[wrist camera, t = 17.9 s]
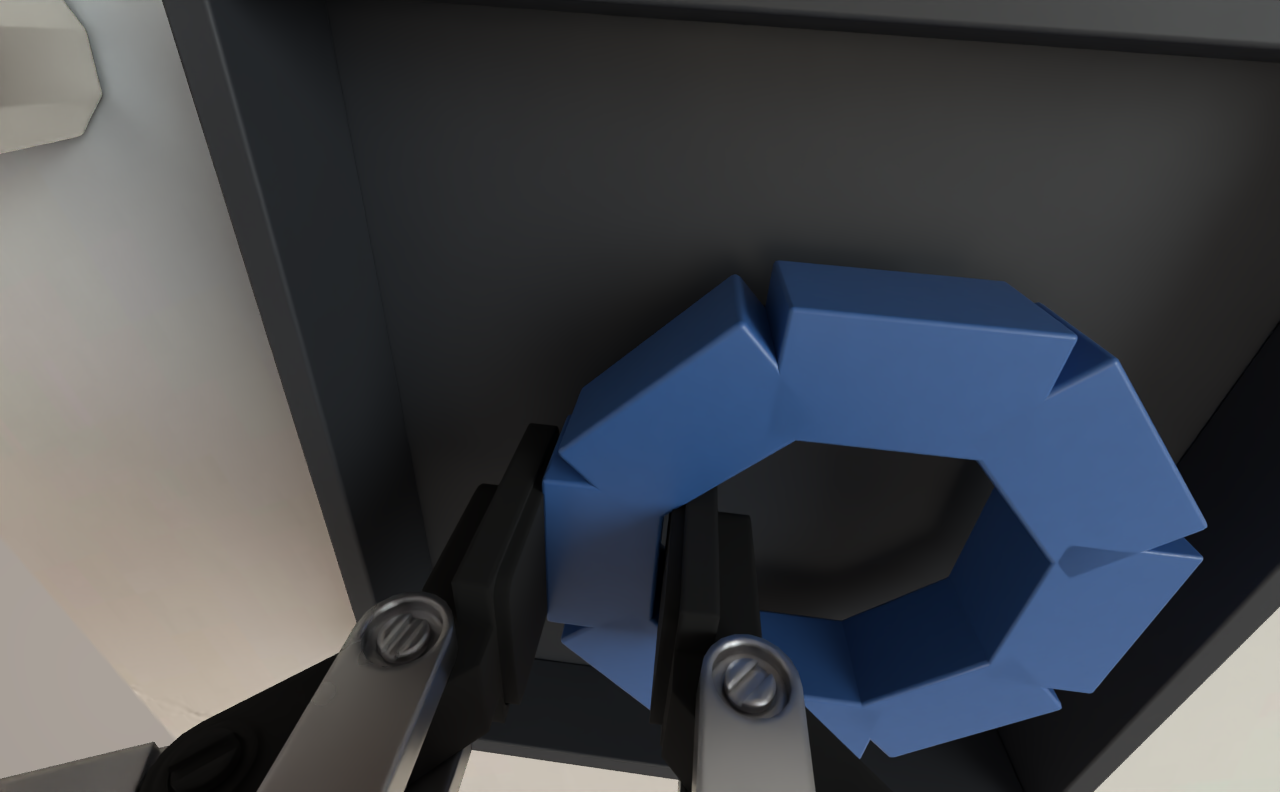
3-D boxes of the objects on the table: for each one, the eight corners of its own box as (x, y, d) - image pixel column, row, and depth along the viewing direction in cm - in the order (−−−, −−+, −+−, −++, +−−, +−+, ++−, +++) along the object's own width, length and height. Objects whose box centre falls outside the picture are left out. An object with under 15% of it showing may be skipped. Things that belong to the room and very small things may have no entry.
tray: (438, 637, 18) (391, 739, 15) (302, -52, 9) (128, -99, 6) (997, 713, 17) (1051, 835, 14) (1486, 28, 8) (1882, 14, 5)
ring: (568, 638, 14) (549, 718, 12) (566, 240, 9) (532, 282, 7) (979, 692, 13) (1018, 784, 12) (1233, 301, 8) (1369, 363, 7)
